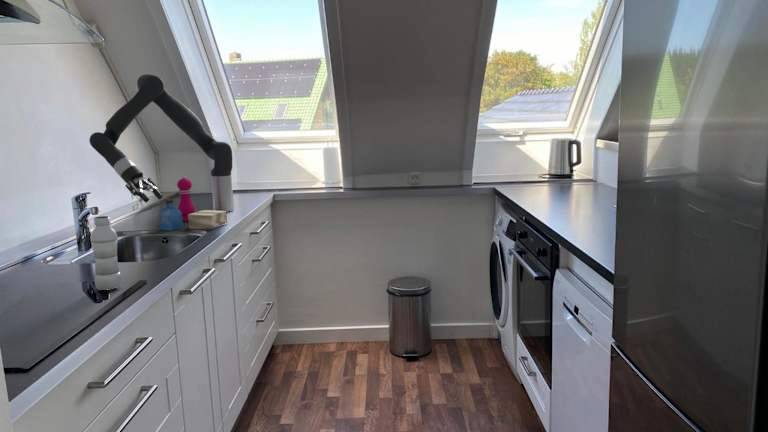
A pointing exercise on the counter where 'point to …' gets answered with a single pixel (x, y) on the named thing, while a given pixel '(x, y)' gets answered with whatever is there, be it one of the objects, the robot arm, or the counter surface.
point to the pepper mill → (185, 198)
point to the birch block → (207, 219)
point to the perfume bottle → (170, 217)
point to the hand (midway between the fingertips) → (154, 199)
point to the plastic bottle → (105, 254)
